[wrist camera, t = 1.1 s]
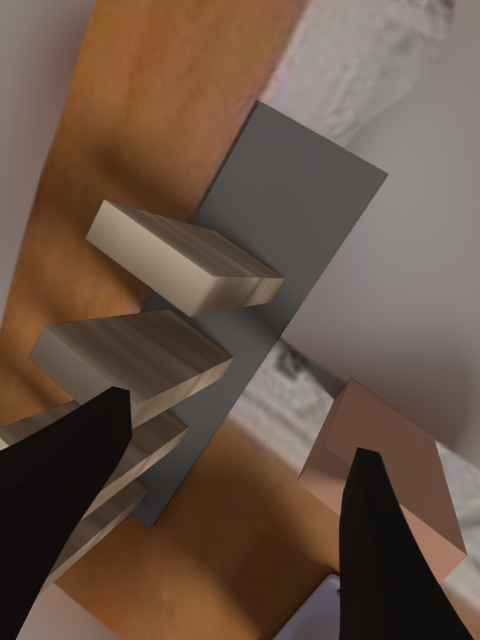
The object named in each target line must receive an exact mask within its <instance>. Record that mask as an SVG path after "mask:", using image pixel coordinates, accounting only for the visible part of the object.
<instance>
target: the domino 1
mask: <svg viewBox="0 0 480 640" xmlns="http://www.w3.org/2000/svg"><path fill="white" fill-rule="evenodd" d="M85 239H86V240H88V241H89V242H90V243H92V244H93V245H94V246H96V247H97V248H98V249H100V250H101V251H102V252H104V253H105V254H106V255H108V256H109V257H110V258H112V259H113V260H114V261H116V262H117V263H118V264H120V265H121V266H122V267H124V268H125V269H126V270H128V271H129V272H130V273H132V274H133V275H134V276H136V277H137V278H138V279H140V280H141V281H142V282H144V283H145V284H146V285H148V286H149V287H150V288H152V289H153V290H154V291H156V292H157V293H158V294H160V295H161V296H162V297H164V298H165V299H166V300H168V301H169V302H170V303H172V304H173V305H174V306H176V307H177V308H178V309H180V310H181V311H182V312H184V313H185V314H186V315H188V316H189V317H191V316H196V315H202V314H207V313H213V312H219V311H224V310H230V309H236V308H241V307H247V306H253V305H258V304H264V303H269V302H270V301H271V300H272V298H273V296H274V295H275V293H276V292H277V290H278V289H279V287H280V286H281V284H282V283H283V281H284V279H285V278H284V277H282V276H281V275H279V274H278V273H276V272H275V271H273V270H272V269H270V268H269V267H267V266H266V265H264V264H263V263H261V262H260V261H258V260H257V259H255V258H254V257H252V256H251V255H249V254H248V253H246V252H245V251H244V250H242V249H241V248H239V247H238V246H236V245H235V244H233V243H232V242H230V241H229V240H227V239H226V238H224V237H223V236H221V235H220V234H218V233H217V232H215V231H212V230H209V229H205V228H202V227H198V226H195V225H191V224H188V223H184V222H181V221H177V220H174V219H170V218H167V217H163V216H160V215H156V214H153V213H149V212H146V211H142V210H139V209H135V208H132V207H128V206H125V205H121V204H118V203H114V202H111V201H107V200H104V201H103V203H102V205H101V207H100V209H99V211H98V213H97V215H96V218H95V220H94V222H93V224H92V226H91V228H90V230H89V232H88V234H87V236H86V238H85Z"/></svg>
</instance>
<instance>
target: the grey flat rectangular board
mask: <svg viewBox="0 0 480 640" xmlns="http://www.w3.org/2000/svg"><path fill="white" fill-rule="evenodd" d="M387 176H388V173H386V172H384V171H382V170H381V169H379V168H377V167H375V166H374V165H372V164H370V163H368V162H366V161H365V160H363V159H361V158H359V157H358V156H356V155H354V154H352V153H350V152H349V151H347V150H345V149H343V148H342V147H340V146H338V145H336V144H335V143H333V142H331V141H329V140H327V139H326V138H324V137H322V136H320V135H319V134H317V133H315V132H313V131H311V130H310V129H308V128H306V127H304V126H303V125H301V124H299V123H297V122H296V121H294V120H292V119H290V118H288V117H287V116H285V115H283V114H281V113H280V112H278V111H276V110H274V109H272V108H271V107H269V106H267V105H265V104H264V103H262V102H259V104H258V106H257V108H256V110H255V111H254V113H253V115H252V117H251V119H250V120H249V122H248V124H247V126H246V128H245V129H244V131H243V133H242V135H241V137H240V138H239V140H238V142H237V144H236V146H235V147H234V149H233V151H232V153H231V155H230V157H229V158H228V160H227V162H226V164H225V166H224V167H223V169H222V171H221V173H220V175H219V176H218V178H217V180H216V182H215V184H214V185H213V187H212V189H211V191H210V193H209V194H208V196H207V198H206V200H205V202H204V203H203V205H202V207H201V209H200V211H199V212H198V214H197V216H196V218H195V220H194V222H193V223H192V225H195V226H198V227H202V228H205V229H209V230H212V231H215V232H217V233H218V234H220V235H221V236H223V237H224V238H226V239H227V240H229V241H230V242H232V243H233V244H235V245H236V246H238V247H239V248H241V249H242V250H244V251H245V252H246V253H248V254H249V255H251V256H252V257H254V258H255V259H257V260H258V261H260V262H261V263H263V264H264V265H266V266H267V267H269V268H270V269H272V270H273V271H275V272H276V273H278V274H279V275H281V276H282V277H284V278H285V279H284V281H283V283H282V284H281V286H280V287H279V289H278V290H277V292H276V293H275V295H274V296H273V298H272V300H271V301H270V302H269V303H264V304H258V305H253V306H247V307H241V308H236V309H230V310H224V311H219V312H213V313H207V314H202V315H196V316H191V317H189V316H188V315H186V314H185V313H184V312H182V311H181V310H180V309H178V308H177V307H176V306H174V305H173V304H172V303H170V302H169V301H168V300H166V299H165V298H164V297H162V296H161V295H160V294H158V293H157V292H156V291H155V292H154V294H153V296H152V297H151V299H150V301H149V303H148V305H147V306H146V308H145V310H144V312H143V313H145V312H153V311H160V310H168V309H171V310H172V311H174V312H175V313H176V314H177V315H179V316H180V317H181V318H183V319H184V320H185V321H187V322H188V323H189V324H191V325H192V326H193V327H195V328H196V329H197V330H199V331H200V332H201V333H203V334H204V335H205V336H207V337H208V338H209V339H211V340H212V341H213V342H215V343H216V344H217V345H219V346H220V347H221V348H222V349H224V350H225V351H226V352H228V353H229V354H230V355H232V356H233V357H234V358H233V360H232V361H231V363H230V365H229V366H228V368H227V369H226V371H225V372H224V374H223V375H222V377H221V378H220V379H219V380H217V381H215V382H214V383H212V384H210V385H208V386H207V387H205V388H203V389H201V390H200V391H198V392H196V393H194V394H193V395H191V396H189V397H187V398H186V399H184V400H182V401H181V402H179V403H177V404H175V405H174V406H172V407H170V408H168V410H169V411H170V412H171V413H172V414H174V415H175V416H176V417H177V418H178V419H180V420H181V421H182V422H183V423H184V424H186V425H187V426H188V427H189V428H188V430H187V431H186V433H185V434H184V436H183V437H182V439H181V440H180V442H179V443H178V445H177V446H176V447H175V448H174V449H172V450H171V451H170V452H169V453H167V454H166V455H165V456H163V457H162V458H161V459H160V460H158V461H157V462H156V463H154V464H153V465H152V466H151V467H149V468H148V469H147V470H145V471H144V472H143V473H142V474H140V475H139V476H138V477H136V479H137V480H138V481H139V482H140V483H141V484H143V485H144V486H145V487H146V488H147V489H148V491H147V493H146V495H145V496H144V498H143V499H142V501H141V502H140V504H139V505H138V507H137V508H136V509H135V510H133V511H132V512H131V513H132V514H133V515H134V516H135V517H136V518H138V519H139V520H140V521H141V522H142V523H143V524H144V525H145V526H146V527H147V528H148V529H150V528H151V527H152V526H153V525H154V523H155V522H156V520H157V519H158V517H159V516H160V514H161V513H162V511H163V510H164V508H165V507H166V505H167V504H168V502H169V501H170V499H171V498H172V496H173V495H174V493H175V492H176V490H177V489H178V487H179V486H180V484H181V483H182V481H183V480H184V479H185V477H186V476H187V474H188V473H189V471H190V470H191V468H192V467H193V465H194V464H195V462H196V461H197V459H198V458H199V456H200V455H201V453H202V452H203V450H204V449H205V447H206V446H207V444H208V443H209V441H210V440H211V438H212V437H213V435H214V434H215V432H216V431H217V429H218V428H219V426H220V425H221V423H222V422H223V420H224V419H225V417H226V416H227V414H228V413H229V412H230V410H231V409H232V407H233V406H234V404H235V403H236V401H237V400H238V398H239V397H240V395H241V394H242V392H243V391H244V389H245V388H246V386H247V385H248V383H249V382H250V380H251V379H252V377H253V376H254V374H255V373H256V371H257V370H258V368H259V367H260V365H261V364H262V362H263V361H264V359H265V358H266V356H267V355H268V353H269V352H270V350H271V349H272V347H273V346H274V344H275V343H276V342H277V340H278V339H279V337H280V336H281V334H282V333H283V331H284V330H285V328H286V327H287V325H288V324H289V322H290V321H291V319H292V318H293V316H294V315H295V313H296V311H297V310H298V309H299V307H300V306H301V304H302V303H303V301H304V300H305V298H306V297H307V295H308V294H309V292H310V291H311V289H312V288H313V286H314V285H315V283H316V282H317V280H318V279H319V277H320V276H321V274H322V273H323V272H324V270H325V269H326V267H327V266H328V264H329V263H330V261H331V259H332V258H333V257H334V255H335V254H336V252H337V251H338V249H339V248H340V246H341V245H342V243H343V242H344V240H345V239H346V237H347V236H348V234H349V233H350V231H351V230H352V228H353V227H354V225H355V224H356V222H357V221H358V219H359V218H360V216H361V215H362V213H363V212H364V210H365V209H366V208H367V206H368V204H369V203H370V201H371V200H372V199H373V197H374V196H375V194H376V193H377V191H378V190H379V188H380V187H381V185H382V184H383V182H384V181H385V179H386V177H387Z"/></svg>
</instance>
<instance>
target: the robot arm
mask: <svg viewBox="0 0 480 640" xmlns="http://www.w3.org/2000/svg"><path fill="white" fill-rule="evenodd" d="M131 439H132V419H131V401H130V390H127V389H123V388H119V387H115V386H112V387H110V388H108V389H107V390H105V391H104V392H102V393H100V394H99V395H97V396H96V397H94V398H92V399H91V400H89V401H88V402H86V403H84V404H83V405H81V406H80V407H78V408H76V409H75V410H73V411H72V412H70V413H68V414H67V415H65V416H63V417H62V418H60V419H58V420H57V421H55V422H53V423H52V424H50V425H48V426H46V427H44V428H42V429H41V430H39V431H37V432H35V433H33V434H32V435H30V436H28V437H26V438H24V439H23V440H21V441H19V442H17V443H15V444H13V445H11V446H9V447H7V448H5V449H2V450H0V640H16V638H17V636H18V634H19V632H20V630H21V628H22V626H23V623H24V622H25V620H26V618H27V616H28V614H29V611H30V610H31V607H32V605H33V603H34V601H35V600H36V598H37V596H38V594H39V592H40V590H41V588H42V586H43V584H44V583H45V581H46V579H47V577H48V575H49V573H50V571H51V569H52V568H53V566H54V564H55V562H56V560H57V559H58V557H59V555H60V553H61V551H62V550H63V548H64V546H65V544H66V542H67V541H68V539H69V537H70V536H71V534H72V533H73V531H74V529H75V528H76V526H77V525H78V523H79V522H80V520H81V519H82V517H83V516H84V514H85V513H86V512H87V510H88V509H89V507H90V506H91V504H92V503H93V501H94V500H95V498H96V497H97V495H98V494H99V493H100V491H101V490H102V488H103V487H104V485H105V484H106V482H107V481H108V479H109V478H110V476H111V475H112V473H113V472H114V470H115V469H116V467H117V466H118V464H119V462H120V460H121V458H122V457H123V455H124V453H125V451H126V449H127V447H128V445H129V443H130V441H131ZM339 565H340V577H339V576H337V575H334V574H331V575H329V576H327V577H326V578H325V580H324V581H323V582H322V583H321V584H320V585H319V586H318V588H317V589H316V590H315V591H314V592H313V593H312V594H311V596H310V597H309V598H308V599H307V600H306V601H305V602H304V604H303V605H302V606H301V607H300V608H299V609H298V610H297V612H296V613H295V614H294V615H293V616H292V617H291V618H290V620H289V621H288V622H287V623H286V624H285V625H284V626H283V628H282V629H281V630H280V631H279V632H278V633H277V635H276V636H275V637H274V638H273V639H272V640H474V639H473V637H472V636H471V634H470V633H469V631H468V630H467V628H466V627H465V625H464V624H463V622H462V621H461V619H460V618H459V616H458V614H457V613H456V611H455V610H454V608H453V606H452V605H451V603H450V602H449V600H448V598H447V597H446V595H445V593H444V592H443V590H442V588H441V587H440V585H439V583H438V581H437V580H436V578H435V576H434V574H433V572H432V571H431V569H430V567H429V565H428V563H427V561H426V560H425V558H424V556H423V554H422V552H421V550H420V548H419V546H418V544H417V542H416V540H415V538H414V536H413V534H412V531H411V529H410V527H409V525H408V523H407V521H406V518H405V516H404V514H403V511H402V509H401V507H400V505H399V502H398V500H397V497H396V495H395V492H394V490H393V487H392V485H391V482H390V479H389V477H388V474H387V471H386V468H385V465H384V462H383V459H382V456H381V454H380V453H379V452H376V451H372V450H368V449H364V448H360V447H357V450H356V453H355V456H354V459H353V462H352V465H351V468H350V472H349V475H348V478H347V481H346V484H345V487H344V490H343V494H342V503H341V513H340V524H339ZM338 589H340V592H339V591H338Z"/></svg>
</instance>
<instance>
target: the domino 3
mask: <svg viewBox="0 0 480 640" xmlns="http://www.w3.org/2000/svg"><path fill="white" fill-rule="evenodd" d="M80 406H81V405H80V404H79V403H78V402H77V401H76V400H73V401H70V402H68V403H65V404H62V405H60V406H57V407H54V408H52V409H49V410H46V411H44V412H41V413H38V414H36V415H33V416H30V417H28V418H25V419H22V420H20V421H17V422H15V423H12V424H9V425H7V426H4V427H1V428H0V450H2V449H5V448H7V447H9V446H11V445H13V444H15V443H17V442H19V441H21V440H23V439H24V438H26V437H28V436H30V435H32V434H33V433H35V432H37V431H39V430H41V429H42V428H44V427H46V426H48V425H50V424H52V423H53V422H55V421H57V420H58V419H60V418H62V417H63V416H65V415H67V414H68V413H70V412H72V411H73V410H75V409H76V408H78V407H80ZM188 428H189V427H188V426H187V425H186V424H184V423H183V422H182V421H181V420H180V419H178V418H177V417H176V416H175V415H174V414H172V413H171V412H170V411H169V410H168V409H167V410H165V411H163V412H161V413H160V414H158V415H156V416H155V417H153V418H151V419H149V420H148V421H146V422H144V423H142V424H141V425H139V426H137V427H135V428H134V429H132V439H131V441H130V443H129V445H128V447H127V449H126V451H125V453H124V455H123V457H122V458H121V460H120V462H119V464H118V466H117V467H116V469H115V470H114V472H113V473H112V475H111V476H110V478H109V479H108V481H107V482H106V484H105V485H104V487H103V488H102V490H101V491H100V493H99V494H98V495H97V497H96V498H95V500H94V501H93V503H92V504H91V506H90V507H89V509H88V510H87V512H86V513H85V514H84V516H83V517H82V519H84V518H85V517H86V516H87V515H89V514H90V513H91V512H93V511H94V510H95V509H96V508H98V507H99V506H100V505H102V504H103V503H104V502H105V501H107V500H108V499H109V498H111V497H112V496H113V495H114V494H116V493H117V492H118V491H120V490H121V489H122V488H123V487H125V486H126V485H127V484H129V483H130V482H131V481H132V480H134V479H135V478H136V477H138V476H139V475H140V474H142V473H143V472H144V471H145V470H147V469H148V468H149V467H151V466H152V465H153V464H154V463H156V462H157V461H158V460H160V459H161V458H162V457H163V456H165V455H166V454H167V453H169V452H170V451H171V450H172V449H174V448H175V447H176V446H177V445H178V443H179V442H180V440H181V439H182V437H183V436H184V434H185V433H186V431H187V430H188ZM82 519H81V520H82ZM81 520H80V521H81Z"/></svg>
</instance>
